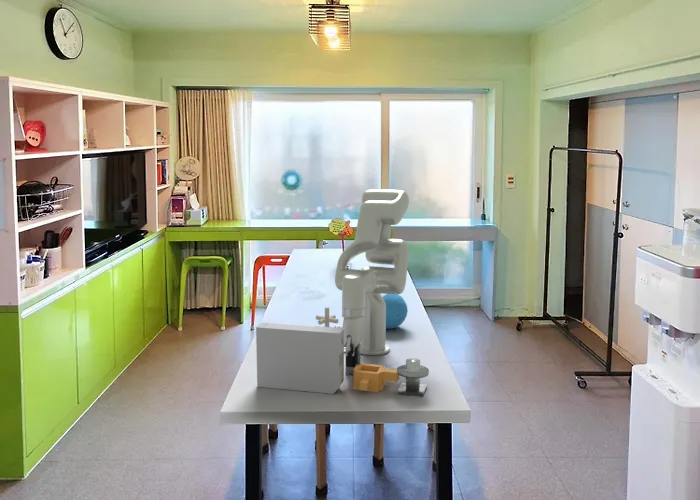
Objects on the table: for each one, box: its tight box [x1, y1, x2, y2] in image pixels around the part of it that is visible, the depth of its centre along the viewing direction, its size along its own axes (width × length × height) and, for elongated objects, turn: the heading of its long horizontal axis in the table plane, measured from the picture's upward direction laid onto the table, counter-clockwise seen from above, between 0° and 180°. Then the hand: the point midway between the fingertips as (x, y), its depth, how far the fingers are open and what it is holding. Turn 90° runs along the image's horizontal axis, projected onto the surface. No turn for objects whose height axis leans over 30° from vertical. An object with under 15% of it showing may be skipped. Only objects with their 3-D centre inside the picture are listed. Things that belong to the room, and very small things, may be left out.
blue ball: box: [382, 294, 409, 330], centre depth 285 cm, size 16×19×15 cm
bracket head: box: [352, 362, 400, 393], centre depth 219 cm, size 12×14×6 cm
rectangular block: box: [344, 344, 362, 376], centre depth 233 cm, size 3×4×10 cm
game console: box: [255, 322, 345, 395], centre depth 220 cm, size 6×27×20 cm, turn 77°
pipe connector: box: [315, 306, 339, 327], centre depth 280 cm, size 10×10×10 cm
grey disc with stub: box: [396, 357, 430, 398], centre depth 218 cm, size 10×10×10 cm
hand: (352, 363), depth 233 cm, fingers open, 5 cm apart
